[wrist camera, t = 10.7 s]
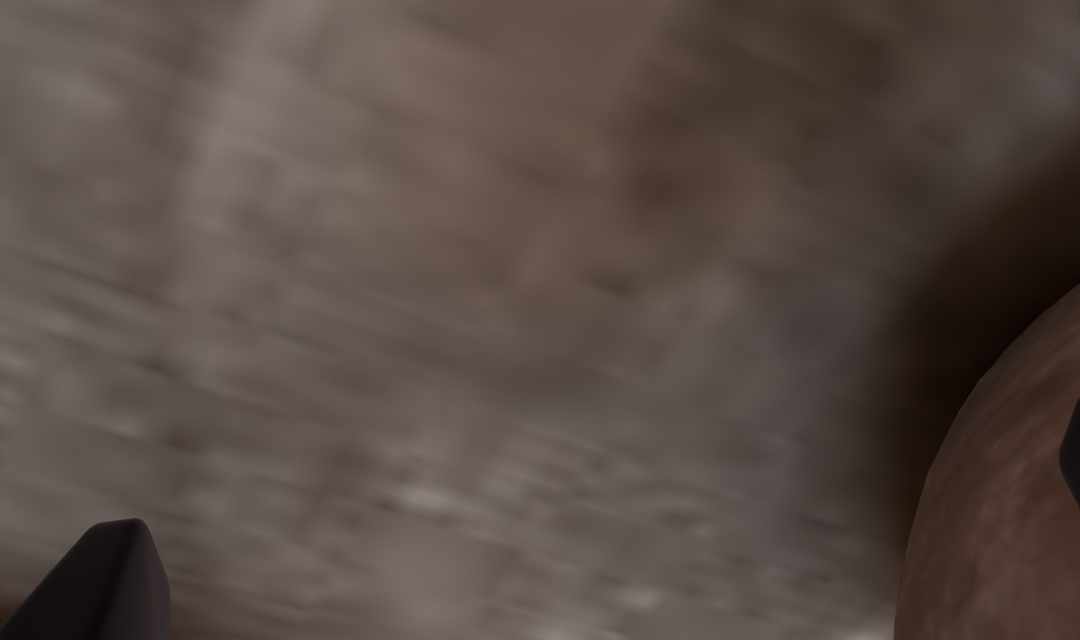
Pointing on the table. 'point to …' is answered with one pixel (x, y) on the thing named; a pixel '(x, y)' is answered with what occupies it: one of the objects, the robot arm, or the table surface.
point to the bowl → (1002, 502)
